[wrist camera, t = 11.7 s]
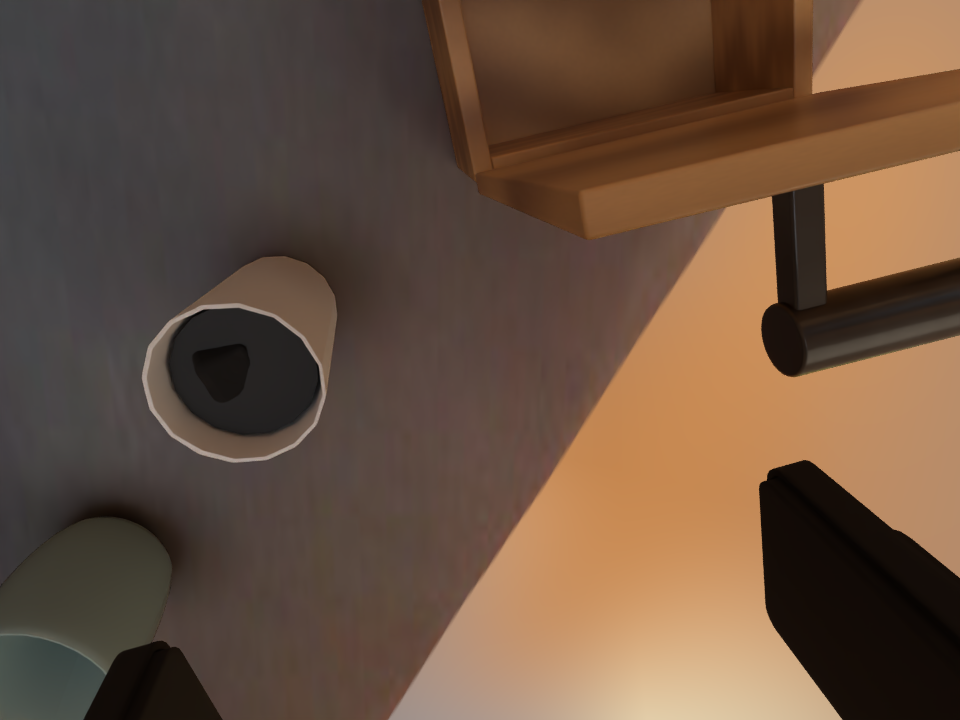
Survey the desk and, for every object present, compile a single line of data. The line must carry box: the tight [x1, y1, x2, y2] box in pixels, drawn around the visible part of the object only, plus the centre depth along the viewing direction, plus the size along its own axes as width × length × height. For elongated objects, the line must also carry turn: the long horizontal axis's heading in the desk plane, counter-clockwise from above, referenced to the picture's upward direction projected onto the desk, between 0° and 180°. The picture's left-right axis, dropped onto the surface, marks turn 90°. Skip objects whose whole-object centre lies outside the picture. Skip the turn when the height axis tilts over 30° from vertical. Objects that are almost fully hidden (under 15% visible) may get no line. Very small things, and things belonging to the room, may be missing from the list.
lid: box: [475, 69, 960, 377], centre depth 17 cm, size 15×14×5 cm
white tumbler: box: [142, 256, 337, 463], centre depth 28 cm, size 7×7×10 cm
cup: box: [0, 516, 172, 720], centre depth 32 cm, size 8×8×10 cm
